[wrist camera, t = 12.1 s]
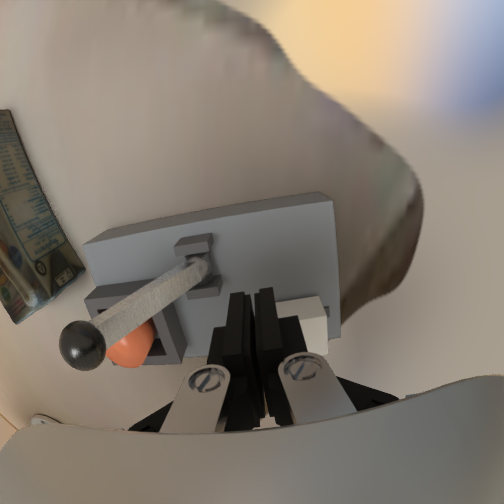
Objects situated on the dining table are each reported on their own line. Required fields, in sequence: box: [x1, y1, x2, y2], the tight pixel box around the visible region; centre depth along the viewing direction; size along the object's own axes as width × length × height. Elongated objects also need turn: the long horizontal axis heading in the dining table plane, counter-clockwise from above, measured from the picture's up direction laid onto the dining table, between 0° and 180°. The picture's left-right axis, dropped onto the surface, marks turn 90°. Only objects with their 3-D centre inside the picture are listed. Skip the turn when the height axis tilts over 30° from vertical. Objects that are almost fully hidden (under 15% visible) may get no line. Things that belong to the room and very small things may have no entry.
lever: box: [59, 252, 214, 371], centre depth 14 cm, size 2×2×10 cm
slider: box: [276, 296, 328, 356], centre depth 18 cm, size 3×3×2 cm
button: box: [106, 317, 158, 368], centre depth 17 cm, size 3×3×3 cm
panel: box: [82, 192, 341, 365], centre depth 20 cm, size 10×17×6 cm, turn 99°
